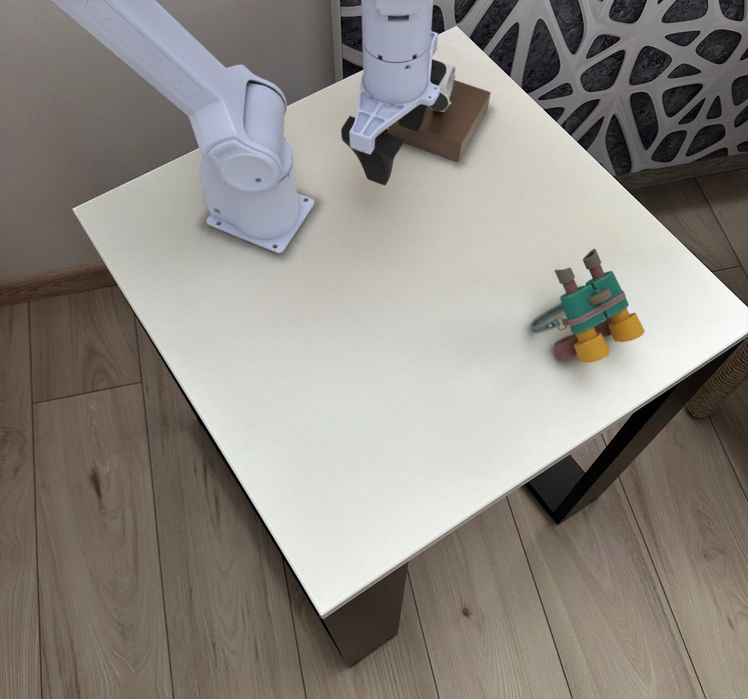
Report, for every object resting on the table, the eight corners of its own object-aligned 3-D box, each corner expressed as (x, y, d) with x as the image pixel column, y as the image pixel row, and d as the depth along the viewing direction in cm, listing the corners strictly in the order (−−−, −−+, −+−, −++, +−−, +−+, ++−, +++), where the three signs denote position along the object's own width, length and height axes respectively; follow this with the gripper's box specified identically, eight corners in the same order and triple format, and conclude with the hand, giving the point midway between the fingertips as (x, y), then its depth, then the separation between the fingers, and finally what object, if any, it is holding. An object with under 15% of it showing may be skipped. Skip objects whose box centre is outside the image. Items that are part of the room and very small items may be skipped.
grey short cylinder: (423, 117, 88) (426, 82, 84) (436, 87, 90) (439, 52, 86) (448, 122, 88) (452, 89, 83) (459, 93, 90) (464, 58, 85)
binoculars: (534, 367, 79) (588, 371, 69) (497, 286, 77) (547, 279, 68) (605, 326, 81) (667, 324, 71) (570, 247, 80) (628, 234, 70)
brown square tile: (388, 136, 91) (388, 118, 88) (419, 87, 94) (420, 68, 92) (458, 162, 89) (461, 143, 86) (487, 111, 93) (490, 91, 90)
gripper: (403, 111, 60) (400, 219, 72) (473, 0, 67) (459, 116, 79) (324, 84, 62) (333, 194, 74) (399, -22, 68) (396, 95, 80)
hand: (394, 152), depth 76 cm, fingers open, 7 cm apart
